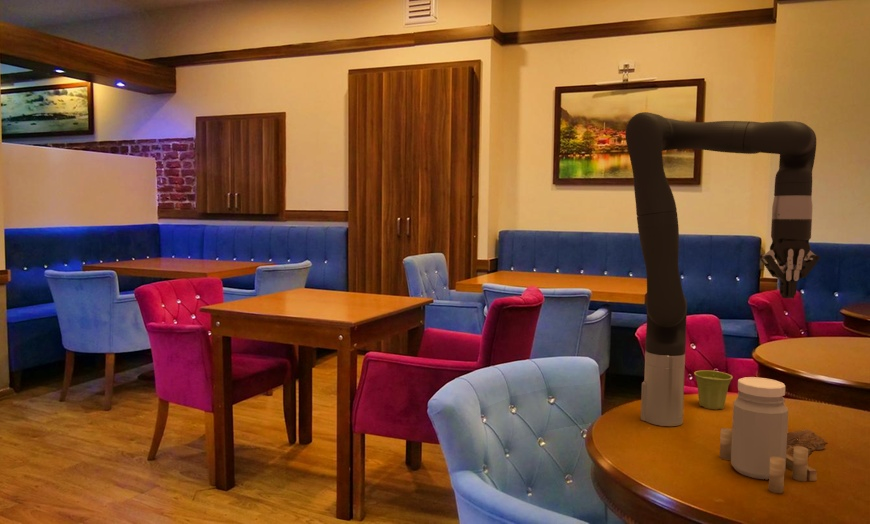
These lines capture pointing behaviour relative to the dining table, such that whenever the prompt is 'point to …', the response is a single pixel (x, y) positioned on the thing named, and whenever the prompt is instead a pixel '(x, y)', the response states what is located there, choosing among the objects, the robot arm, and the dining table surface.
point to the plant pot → (712, 388)
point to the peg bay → (776, 463)
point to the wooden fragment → (804, 441)
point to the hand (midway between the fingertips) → (787, 297)
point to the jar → (758, 426)
